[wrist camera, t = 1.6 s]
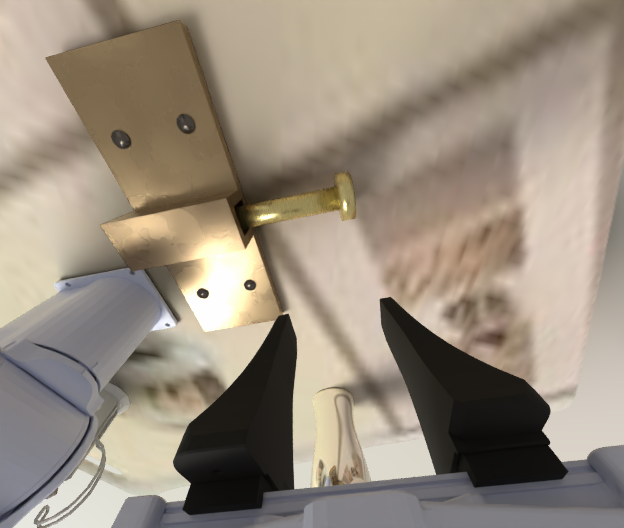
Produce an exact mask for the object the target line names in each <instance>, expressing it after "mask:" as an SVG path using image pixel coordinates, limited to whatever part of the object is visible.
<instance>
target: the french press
mask: <svg viewBox="0 0 624 528" xmlns="http://www.w3.org/2000/svg"><path fill="white" fill-rule="evenodd" d="M99 395H100V396H101V398H103V399H104V402H103V403H102V404H101V405H100V407H99V408H98V409H97V411H96V412H95V413H94V415H95V416H96V417H97V419H98V428H97V432H96V434H95V437H94V439H93V441H92V443H91V446H90V448H89V449H88V451H87V453H86V454H85V456H84V457H83V459H82V460H81V462H80V463H79V464H78V466H77V467H76V468H75V469H74V471H73V472H72V473H71V474H70V475H69V476H68V478H67V479H66V480H68V479H70V478H71V477H72V476H73V474H74V473H75V472H76V470H77V469H78V467H79V466H80V465H81V463H82V462H83V460H84V459H85V457H86V456H87V455H88V453H89V452H90V450H91V449H92V447H93V446H94V445H95V443H96V447H97V448H98V449H99V450H100V451H101V452H102V458H101V463H100V465H99V468H98V471H97V473H96V475H95V476H94V478H93V479H92V481H91V482H90V484H89V485H88V487H87V488H86V489H85V490H84V491H83V492H82V494H80V495H79V497H78V498H77V499H76V500H75V501H74V502H73V503H71V504H70V505H69V506H68V507H66V508H65V509H63V510H62V511H60V512H59V513H57V514H56V515H54V516H52V517H50V518H47V519H45V520H44V518H45V517H46V515H47V514H48V512H49V506H48V505H46V506H44V507H43V508H42V510H41V511H40V512H39V514H38V515H37V517H36V518H35V520H34V524H36V525H37V528H47V527H49V526H52V525H54V524H57V523H58V522H60V521H61V520H63V519H64V518H66V517H67V516H69V515H70V514H71V513H72V512H74V511H75V510H76V509H77V508H78V507H79V506H80V505H81V504H82V503H83V502H84V501H85V500H86V499H87V497H88V496H89V495H90V494H91V492H92V491H93V489H94V488H95V486H96V484H97V483H98V481H99V479H100V478H101V475H102V473H103V470H104V467H105V462H106V456H105V449H104V445H103V444H102V443H101V442H100V438H101V437H102V435H103V434H104V432H105V431H106V430H107V428H108V427H109V425H110V424H111V422H112V421H113V419H114V418H115V416H116V415H118V414H121V413H122V412H124V411H126V410H128V408H129V405H130V401H129V398H128V396H127V395H126V394H125V393H124V392H123V391H122V390H121V389H120V388H119V387H117V386H115V385H113V384H111V383H110V382H108V383H107V384H106V386H105V387H104V388H103V389H102V391H101V392H100V393H99ZM99 445H100V446H101V447H100V446H99ZM100 470H101V471H100ZM99 472H100V474H99ZM98 474H99V476H98V477H97V475H98ZM96 477H97V479H96ZM95 479H96V481H95V483H94V484H93V486H92V488H91V490H90V491H89V492H88V494H87V495H86V496H85V497H84V498H83V499H82V500H81V502H80V503H78V504H77V506H75V507H74V508H73V509H72V510H71V511H70V512H69V513H67V514H66V515H64V516H63V517H61V518H60V519H58V520H57V521H55V522H52V523H50V524H48V525H45V526H41V524H42V523H45V522H47V521H49V520H52V519H54V518H56V517H57V516H59V515H60V514H62V513H63V512H65V511H66V510H68V509H69V508H70V507H71V506H72V505H74V504H75V503H76V502H77V501H78V500H79V499H80V497H81V496H82V495H83V494H84V493H85V492H86V491H87V490H88V489H89V488H90V487H91V485H92V483H93V482H94V480H95ZM66 480H65V481H66ZM57 491H58V488H57V489H56V490H55V491H54V492H52V493H51V494H50V495H49V496H48V497H47V498H45V499H48V498H50V497H52V496H54V495H56V494H57ZM45 509H46V513H45V514H44V516H43V517H42V518H41V520H40V521H38V518H39V517H40V516H41V514H42V513H43V511H44V510H45Z"/></svg>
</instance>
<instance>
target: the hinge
mask: <svg viewBox="0 0 624 528" xmlns="http://www.w3.org/2000/svg"><path fill="white" fill-rule="evenodd" d="M46 60H47V62H48V63H49V65H50V67H51V69H52V70H53V72H54V74H55V75H56V77H57V79H58V81H59V82H60V84H61V86H62V87H63V89H64V91H65V93H66V94H67V96H68V98H69V99H70V101H71V103H72V105H73V106H74V108H75V110H76V111H77V113H78V115H79V117H80V118H81V120H82V122H83V123H84V125H85V127H86V129H87V130H88V132H89V134H90V135H91V137H92V139H93V141H94V142H95V144H96V146H97V147H98V149H99V151H100V153H101V154H102V156H103V158H104V159H105V161H106V163H107V165H108V166H109V168H110V170H111V171H112V173H113V175H114V177H115V178H116V180H117V182H118V183H119V185H120V187H121V189H122V190H123V192H124V194H125V195H126V197H127V199H128V200H129V202H130V204H131V206H132V207H133V209H134V211H133V212H131V213H128V214H126V215H123V216H121V217H118V218H116V219H113V220H111V221H109V222H106V223H104V224H101V225H100V226H101V228H102V229H103V230H104V232H105V233H106V235H107V236H108V238H109V239H110V241H111V242H112V244H113V245H114V247H115V248H116V250H117V251H118V253H119V254H120V255H121V257H122V258H123V260H124V261H125V263H126V264H127V266H128V267H129V269H130V270H131V272H132V271H138V270H143V269H148V268H153V267H159V266H164V265H166V266H167V267H168V269H169V271H170V272H171V274H172V276H173V278H174V279H175V281H176V283H177V284H178V286H179V288H180V290H181V291H182V293H183V295H184V296H185V298H186V300H187V302H188V303H189V305H190V307H191V308H192V310H193V312H194V314H195V315H196V317H197V319H198V320H199V322H200V324H201V326H202V327H203V329H204V331H205V332H206V331H212V330H218V329H224V328H230V327H236V326H243V325H249V324H255V323H261V322H267V321H273V320H276V319H277V317H278V316H279V315H283V311H282V308H281V305H280V302H279V299H278V296H277V293H276V290H275V287H274V284H273V281H272V278H271V275H270V272H269V269H268V266H267V264H266V261H265V258H264V255H263V252H262V249H261V246H260V243H259V240H258V237H257V234H256V231H255V228H254V227H251V228H246V229H241V226H240V223H239V220H238V218H237V215H236V212H235V209H234V207H239V206H243V205H247V204H246V201H245V198H244V195H243V192H242V189H241V186H240V183H239V180H238V177H237V174H236V171H235V168H234V165H233V163H232V160H231V157H230V154H229V151H228V148H227V145H226V142H225V139H224V136H223V133H222V130H221V127H220V124H219V121H218V118H217V115H216V112H215V109H214V106H213V103H212V100H211V97H210V94H209V91H208V88H207V85H206V82H205V79H204V76H203V73H202V70H201V67H200V64H199V62H198V59H197V56H196V53H195V50H194V47H193V44H192V41H191V38H190V35H189V32H188V29H187V27H186V26H185V25H184V24H183V23H182V22H181V21H180V20H178V21H174V22H170V23H167V24H163V25H160V26H156V27H153V28H149V29H145V30H142V31H138V32H135V33H131V34H128V35H124V36H121V37H117V38H113V39H110V40H106V41H103V42H99V43H96V44H92V45H89V46H85V47H81V48H78V49H74V50H71V51H67V52H64V53H60V54H57V55H53V56H49V57H46Z"/></svg>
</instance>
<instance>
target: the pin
mask: <svg viewBox="0 0 624 528" xmlns="http://www.w3.org/2000/svg"><path fill="white" fill-rule="evenodd" d="M334 181H335V187H330V188H326V189H321V190H316V191H311V192H306V193H301V194H297V195H292V196H287V197H282V198H277V199H272V200H268V201H263V202H258V203H253V204H248V205H243V206H239V207H234V209H235V212H236V215H237V218H238V220H239V223H240V226H241V229H246V228H251V227H256V226H261V225H266V224H271V223H276V222H281V221H286V220H291V219H296V218H301V217H306V216H311V215H316V214H321V213H326V212H331V211H336V210H339V213H340V217H341V220H342V221H345V220H350V219H355V218H356V201H355V193H354V187H353V183H352V178H351V175H350V173H349V171H346V172H341V173H336V174H334Z"/></svg>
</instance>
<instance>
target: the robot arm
mask: <svg viewBox="0 0 624 528" xmlns="http://www.w3.org/2000/svg"><path fill="white" fill-rule="evenodd" d="M134 272H135V273H134ZM134 272H131V270H130V269H129V267H128V268H123V269H118V270H113V271H107V272H102V273H97V274H92V275H87V276H81V277H76V278H71V279H66V280H61V281H58V282H56V283H55V284H54V286H55V288H56V289H57V290H58V291H59V293H57V294H56V295H54V296H52V297H51V298H49V299H47V300H46V301H44V302H43V303H41V304H39V305H38V306H36V307H34V308H33V309H31V310H30V311H28V312H26V313H25V314H23V315H21V316H20V317H18V318H17V319H15V320H13V321H12V322H10V323H8V324H7V325H5V326H3V327H2V328H0V528H13V527H14V526H15V525H16V524H17V523H18V522H19V521H20V520H21V519H22V518H23V517H24V516H25V515H26V514H28V513H29V512H30V511H31V510H32V509H33V508H34V507H35V506H36V505H38V504H39V503H40V502H42V501H43V500H44V499H45V498H47V497H48V496H49V495H50V494H51V493H52V492H54V491H55V490H56V489H57V488H58V487H59V486H60V485H61V484H62V483H63V482H64V481H65V480H66V479H67V478H68V476H69V475H70V474H71V473H72V472H73V471H74V469H75V468H76V467H77V466H78V464H79V463H80V462H81V460H82V459H83V457H84V456H85V454H86V453H87V451H88V449H89V448H90V446H91V443H92V441H93V439H94V437H95V434H96V432H97V428H98V419H97V417H96V416H95V415H94V413H95V412H96V411H97V409H98V408H99V407H100V405H101V404H102V403H103V402H104V399H103V398H101V396H100V395H99V393H100V392H101V391H102V389H103V388H104V387H105V386H106V384H107V383H108V382H109V381H110V380H111V378H112V377H113V376H114V375H115V374H116V372H117V371H118V370H119V369H120V367H121V366H122V365H123V364H124V363H125V361H126V360H127V359H128V358H129V356H130V355H131V354H132V353H133V352H134V350H135V349H136V348H137V347H138V346H139V344H140V343H141V342H142V341H143V339H144V338H145V337H146V336H147V335H148V333H149V332H150V331H154V330H160V329H166V328H172V327H176V325H177V324H178V322H177V320H176V319H175V317H174V315H173V314H172V312H171V311H170V309H169V308H168V306H167V305H166V303H165V302H164V300H163V298H162V297H161V295H160V294H159V292H158V291H157V289H156V288H155V286H154V284H153V283H152V281H151V280H150V278H149V277H148V275H147V274H146V272H145V271H144V269H143V270H138V271H134ZM380 311H381V325H382V328H383V332H384V335H385V338H386V341H387V343H388V345H389V347H390V350H391V352H392V354H393V356H394V358H395V360H396V363H397V365H398V367H399V369H400V371H401V373H402V376H403V378H404V380H405V383H406V385H407V388H408V391H409V393H410V396H411V399H412V402H413V405H414V408H415V410H416V413H417V416H418V419H419V422H420V425H421V428H422V431H423V434H424V437H425V440H426V443H427V446H428V450H429V453H430V456H431V459H432V462H433V466H434V469H435V472H436V475H431V476H422V477H411V478H401V479H392V480H382V481H372V482H362V483H353V484H343V485H333V486H323V487H313V488H304V489H294V472H293V389H294V380H295V370H296V359H297V338H296V335H295V332H294V329H293V326H292V323H291V319H290V316H289V314H285V315H279V316H278V317H277V319H276V321H275V323H274V325H273V327H272V328H271V330H270V332H269V334H268V335H267V337H266V339H265V341H264V342H263V344H262V345H261V347H260V349H259V350H258V352H257V353H256V355H255V356H254V357H253V359H252V360H251V362H250V363H249V364H248V366H247V367H246V368H245V369H244V371H243V372H242V373H241V374H240V376H239V377H238V378H237V379H236V380H235V381H234V382H233V384H232V385H231V386H230V387H229V388H228V389H227V390H226V391H225V392H224V393H223V394H222V395H221V396H220V397H219V398H218V399H217V400H216V401H215V402H214V403H213V404H212V405H211V406H209V407H208V408H207V409H206V410H205V411H204V412H203V413H201V414H200V415H199V416H198V417H197V418H196V419H194V420H193V421H192V422H191V423H190V424H189V425H188V427H187V429H186V431H185V433H184V436H183V438H182V441H181V443H180V446H179V448H178V450H177V453H176V455H175V458H174V460H173V464H174V467H175V469H176V470H177V471H178V472H179V473H180V474H181V475H182V476H183V477H184V478H185V479H187V480H188V481H189V482H190V483H191V485H190V488H189V491H188V494H187V497H186V500H185V501H177V502H167V503H166V501H165V500H164V499H163V498H162V497H160V496H156V495H146V496H137V497H128V498H127V499H126V500H125V502H124V504H123V506H122V508H121V510H120V512H119V514H118V515H117V518H116V520H115V521H114V523H113V525H112V527H111V528H624V445H619V446H611V447H602V448H598V449H596V450H593V451H592V452H591V453H590V454H589V455H588V457H587V460H578V461H568V462H561V461H560V460H559V459H558V457H557V456H556V455H555V454H554V452H553V451H552V450H551V449H550V447H549V446H548V445H549V444H550V441H549V439H548V438H547V437H546V435H545V434H544V433H543V432H542V429H543V427H544V425H545V423H546V422H547V420H548V418H549V415H550V407H549V405H548V404H547V403H546V402H545V401H544V400H543V398H542V397H541V396H540V395H539V394H538V393H537V392H536V391H535V390H534V389H533V388H532V387H531V386H530V385H529V384H528V383H527V382H526V381H525V380H524V379H521V378H519V377H516V376H514V375H511V374H509V373H507V372H504V371H502V370H499V369H497V368H495V367H493V366H490V365H488V364H486V363H484V362H482V361H480V360H478V359H476V358H474V357H472V356H470V355H468V354H467V353H465V352H463V351H461V350H459V349H457V348H456V347H454V346H452V345H451V344H449V343H447V342H446V341H444V340H443V339H441V338H440V337H438V336H437V335H435V334H434V333H432V332H431V331H430V330H428V329H427V328H426V327H424V326H423V325H422V324H421V323H419V322H418V321H417V320H416V319H414V318H413V317H412V316H411V315H410V314H409V313H407V312H406V311H405V310H404V309H403V308H402V307H401V306H400V305H399V304H398V303H397V302H396V301H395V300H394V299H392V298H391V297H388V298H382V299H380Z"/></svg>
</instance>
